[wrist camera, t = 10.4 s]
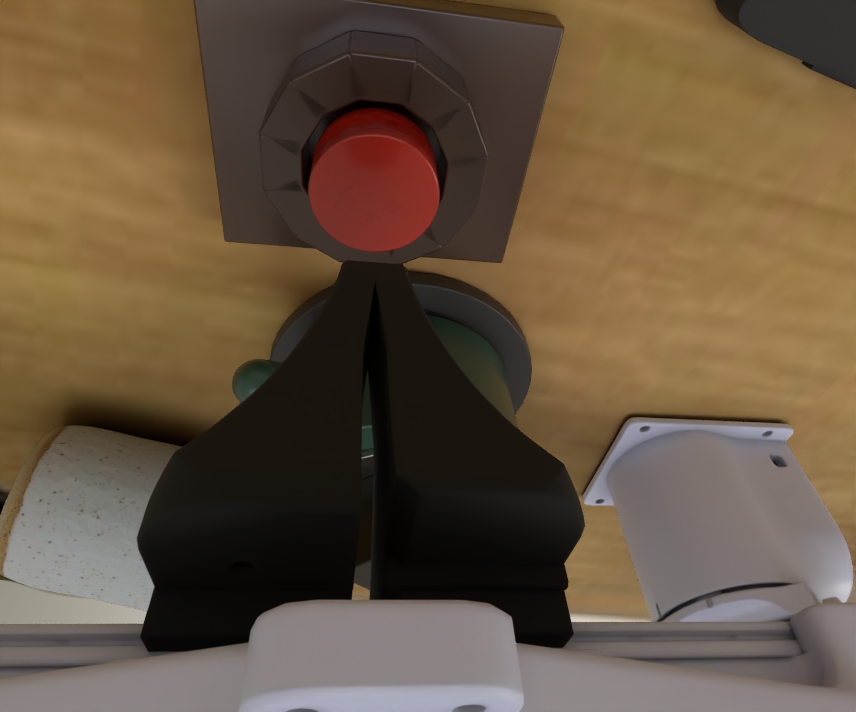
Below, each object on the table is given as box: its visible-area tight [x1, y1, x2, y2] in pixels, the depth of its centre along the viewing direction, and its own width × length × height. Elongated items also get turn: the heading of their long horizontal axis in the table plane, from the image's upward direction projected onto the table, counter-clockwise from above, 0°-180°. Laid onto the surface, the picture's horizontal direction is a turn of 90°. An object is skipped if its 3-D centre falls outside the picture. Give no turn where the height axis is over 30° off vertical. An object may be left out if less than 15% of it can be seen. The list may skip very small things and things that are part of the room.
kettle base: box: [270, 272, 532, 414], centre depth 27 cm, size 12×12×1 cm
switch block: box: [194, 0, 564, 264], centre depth 18 cm, size 10×8×3 cm
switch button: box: [308, 108, 440, 252], centre depth 17 cm, size 4×4×2 cm
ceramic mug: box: [0, 425, 182, 611], centre depth 28 cm, size 11×8×8 cm
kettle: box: [232, 315, 518, 590], centre depth 23 cm, size 16×10×9 cm, turn 38°
